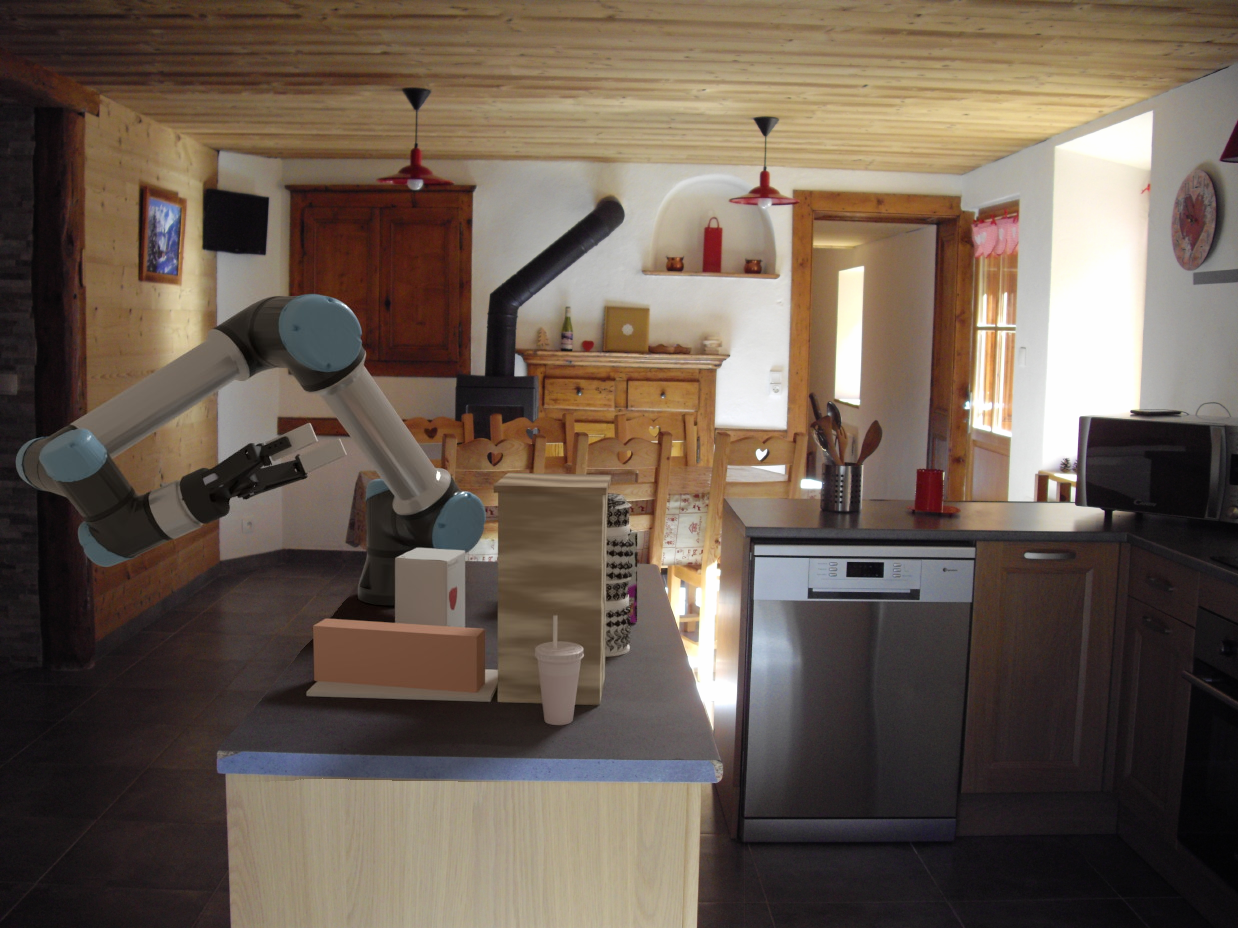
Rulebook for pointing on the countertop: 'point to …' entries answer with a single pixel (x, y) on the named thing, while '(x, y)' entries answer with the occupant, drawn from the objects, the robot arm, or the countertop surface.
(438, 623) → the supplement box
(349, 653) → the block
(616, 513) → the decorative candle
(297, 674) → the countertop surface
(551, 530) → the stand
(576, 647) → the smoothie
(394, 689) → the mat
